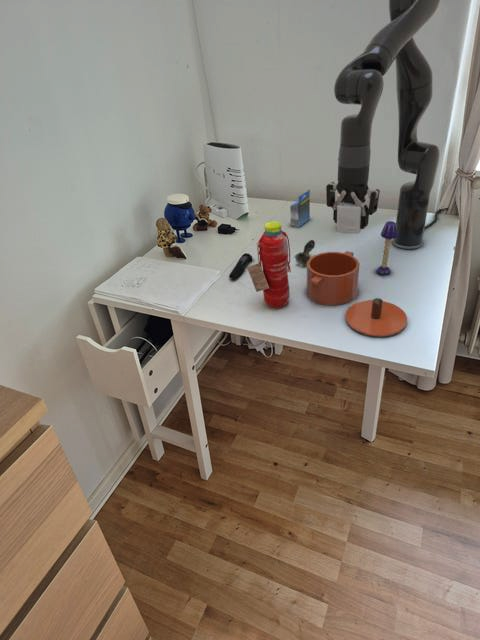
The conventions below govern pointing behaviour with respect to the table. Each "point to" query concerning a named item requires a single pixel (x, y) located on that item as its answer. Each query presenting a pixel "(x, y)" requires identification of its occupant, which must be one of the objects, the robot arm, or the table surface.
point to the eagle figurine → (306, 252)
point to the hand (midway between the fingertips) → (350, 225)
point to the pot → (332, 278)
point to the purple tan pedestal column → (387, 246)
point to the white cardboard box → (348, 218)
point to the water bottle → (272, 266)
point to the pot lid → (376, 317)
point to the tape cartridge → (300, 210)
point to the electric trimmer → (240, 265)
